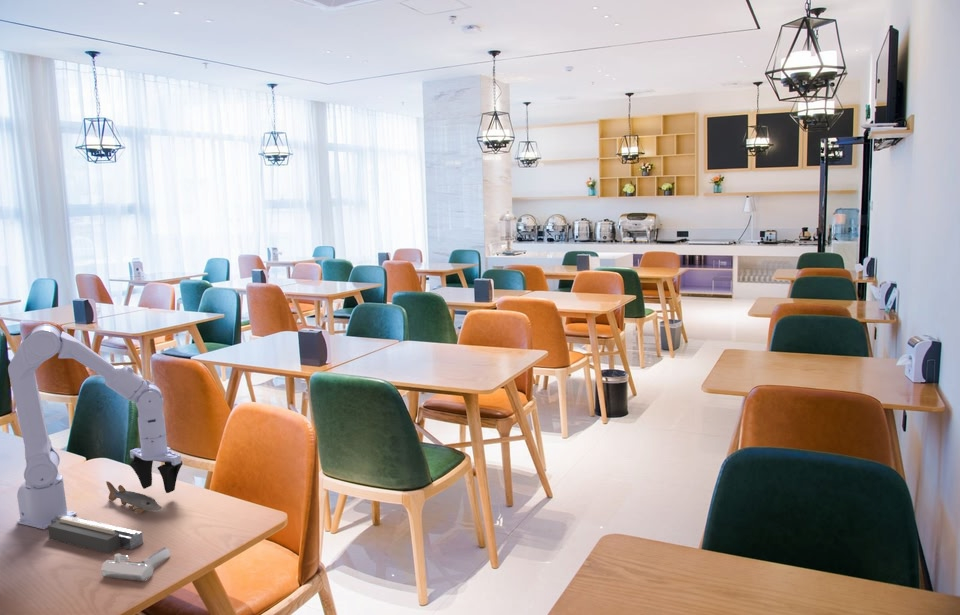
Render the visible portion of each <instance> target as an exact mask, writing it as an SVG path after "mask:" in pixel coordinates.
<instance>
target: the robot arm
mask: <svg viewBox="0 0 960 615" xmlns="http://www.w3.org/2000/svg"><path fill="white" fill-rule="evenodd" d="M57 354H58V356H57V359H73V360H75V361H76V362H78V363H80V364H81V365H83V366H85V367H87V368H88V369H90V371H91V370H92V371H93V372H95V373H97V374H98V375H100V376H101V377H103V378H104V384H105V386H106V387H108V388H109V389H111V390H113V392H115V393H117V395H119V396H121V397H123V398H124V399H126V400H127V401H128V402H133V403H135V407H136V409H137V412H138V417H137V425H138V434H139V435H138V436H139V444H140V448H139V447H136V448H134V449H130V450H129V456H130V459H133V460H132V461H130V462H129V466H130V468H131V469H133V471H134V472H135V474H136V475H137V478H138V480H139V483H140V486H141V488H142V489H144V490H145V489H147V488H149V487H152V486H153V464H154V462H161V463H164V464H162V465H159V466H157V470H158V472H159V473H160V475H161V478H162V482H163V487H164V491H165V494H170V493H172V492H174V491H175V489H176V484H177V479H178V475H179V472H180V469H181V467H182V466H183V460H182V457H181V454H178V453H175V452H173V451H172V450H171V447H168V440H167V429H166V420H165V414H164V407H163V405H164V403H165V400H164V397H163V395H162V390H161V388H159V387H158V386H157V385H156V383H152V382H151V381H152V380H149V379H144V378H142V377H141V376H140V375H138V374H137V373H135V372H134V368H133V367H131V366H130V365H129V366H127V367H126V366H125V365H122V364H120V365H113V364H111V362H109V361H108V360H106V359H105V358H103V357H102V356H101V355H99V354H98V353H97V352H96V351H94V350H92V349H91V348H90V347H88V346H87V345H86V344H84V342H82V341H80V340H79V339H77V338H75V337H74V336H72V335H71V334H69V333H67V332H66V331H61V330H60V329H59V328H58V327H56V326H55V325H52V324H48V323H44V324H40V325H37V326H35V327H34V328H33V329H31V330H30V331H29V332H28V334H26V335H25V336H24V337H23V339H22V341H21V343H20V345H19V346H18V348H17V350H16V351H15V353H14V356H13V358H12V359H11V361H10V363H9V364H8V367H7V371H8V376H9V381H10V386H11V389H12V390H11V391H12V395H13V399H14V403H15V404H14V405H15V408H16V413H17V417H18V421H19V422H18V423H19V427H20V430H21V435H22V439H23V444H24V456H25V457H24V458H25V464H26V465H25V469H24V471H23V479H24V480H25V481H24V482H22V484H21V485H20V486H19V488H18V490H17V494H16V497H17V503H18V504H17V505H18V510H19V518H20V519H17V520H16V523H17V524H20V525H25V526H27V527H28V526H29V527H31V528H32V527H33V528H37V529H41V530H45V529H48V525H50V524H51V520H52V519H55V516H56V515H58V514H61V515H64V514H65V515H69V516H73V517H75V516H76V515H77V512H76V511H72V510H68V507H67V501H66V492H65V485H64V479H63V478H64V477H63V475H62V474H60V472H59V470H58V468H59V465H60V455H59V454H58V452H57V451H56V450H55V448H54V447H53V445H52V441H51V439H50V437H49V432H48V429H47V428H48V426H47V422H46V419H45V417H46V416H45V413H44V408H43V404H42V399H41V395H40V390H39V386H38V381H37V380H38V379H37V377H36V376H37V375H36V371H37V370H38V369H39V367H40V366H41V365H42V364H43V363H44V362H45V361H48V360H49V359H51V358H52V357H54V356H56V355H57Z"/></svg>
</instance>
